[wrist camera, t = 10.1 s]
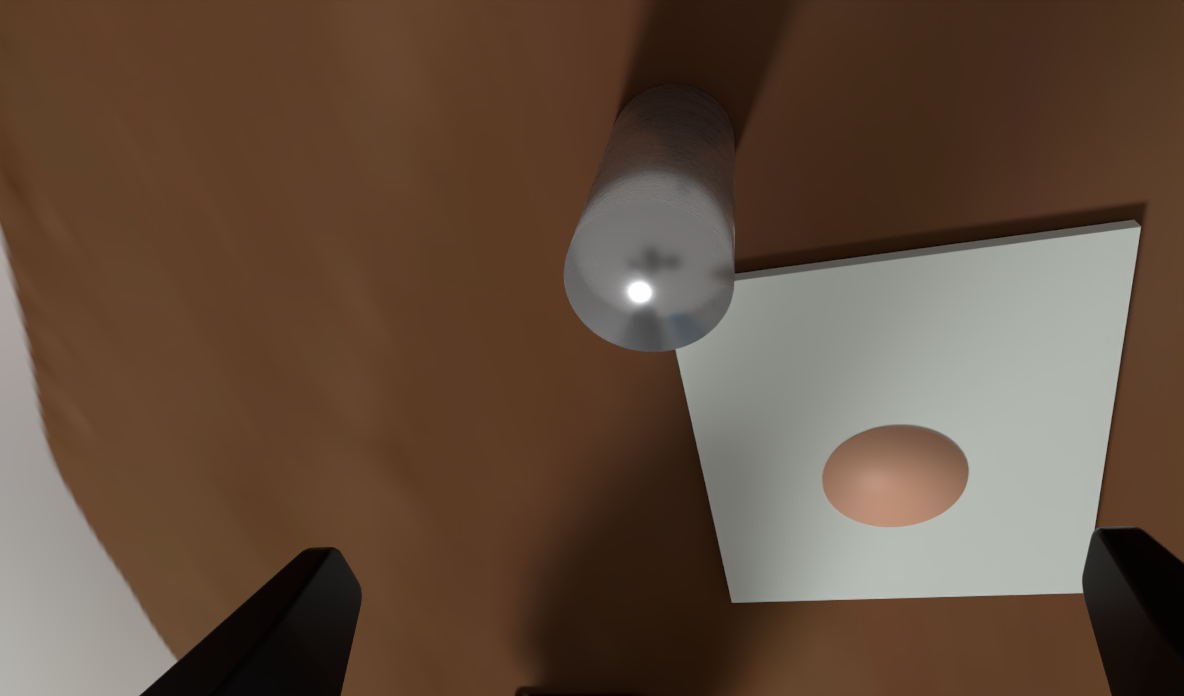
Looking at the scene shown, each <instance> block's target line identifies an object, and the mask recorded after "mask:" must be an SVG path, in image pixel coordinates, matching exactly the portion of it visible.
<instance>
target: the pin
mask: <svg viewBox="0 0 1184 696" xmlns="http://www.w3.org/2000/svg"><path fill="white" fill-rule="evenodd" d="M734 281H735V138H734V131H733V127H732V124H731V122H730V119H729V117H728V115H727V113H726V112H725V110H724V109H723V108H722V106H721V105H720V104H719V103H718V102H717V101H716V100H715V99H714V98H712V97H711V96H710V95H709V94H707V93H705V92H703V91H702V90H699V89H697V88H695V87H691V86H688V85H682V84H664V85H659V86H655V87H652V88H649V89H647V90H645V91H643V92H641V93H639V94H638V95H636V96H635V97H634V98H633V99H631V100H630V101H629V102H628V103H627V104H626V105H625V107H624V108H623V109H622V111H621V112H620V114H619V116H618V117H617V119H616V122H615V124H614V127H613V130H612V132H611V135H610V138H609V141H608V143H607V146H606V149H605V152H604V154H603V157H602V160H601V163H600V165H599V168H598V171H597V174H596V176H595V179H594V182H593V184H592V187H591V190H590V193H589V195H588V198H587V201H586V204H585V206H584V209H583V212H582V215H581V217H580V220H579V223H578V226H577V228H576V231H575V234H574V237H573V239H572V242H571V245H570V247H569V250H568V253H567V256H566V260H565V265H564V284H565V289H566V293H567V296H568V299H569V301H570V303H571V305H572V307H573V309H574V311H575V312H576V314H577V315H578V316H579V318H580V319H581V320H582V321H583V322H584V323H585V325H586V326H587V327H588V328H590V329H591V330H592V331H593V332H594V333H596V334H597V335H599V336H600V337H602V338H603V339H605V340H607V341H609V342H611V343H613V344H616V345H618V346H621V347H624V348H627V349H631V350H637V351H643V352H662V351H669V350H675V349H678V348H682V347H685V346H687V345H690V344H692V343H694V342H696V341H698V340H699V339H701V338H703V337H704V336H706V335H707V334H708V333H710V332H711V331H712V330H713V329H714V328H715V327H716V326H717V325H718V324H719V322H720V321H721V320H722V318H723V317H724V315H725V314H726V312H727V310H728V308H729V306H730V303H731V300H732V296H733V292H734Z"/></svg>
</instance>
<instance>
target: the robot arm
mask: <svg viewBox="0 0 1184 696" xmlns="http://www.w3.org/2000/svg"><path fill="white" fill-rule="evenodd" d="M1082 589H1083V594H1084V599H1085V602H1086V606H1087V609H1088V613H1089V617H1090V620H1091V624H1092V627H1093V631H1094V634H1095V638H1096V641H1097V645H1098V648H1099V652H1100V655H1101V659H1102V663H1103V666H1104V670H1105V673H1106V677H1107V680H1108V684H1109V687H1110V691H1111V694H1112V696H1184V562H1183V561H1181V560H1180V559H1179V558H1178V557H1177V556H1175V555H1174V554H1173V553H1172V552H1171V551H1169V550H1168V549H1167V548H1166V547H1164V546H1163V545H1162V544H1161V543H1160V542H1158V541H1157V540H1156V539H1155V538H1154V537H1152V536H1151V535H1150V534H1149V533H1147V532H1146V531H1144V530H1143V529H1140V528H1138V527H1133V526H1122V527H1100V528H1097V529H1096V530H1095V531H1094V532H1093V533H1092V536H1091V539H1090V544H1089V548H1088V552H1087V557H1086V561H1085V565H1084V570H1083V574H1082ZM361 600H362V593H361V587H360V584H359V582H358V580H357V578H356V577H355V575H354V573H353V572H352V570H351V568H350V567H349V565H348V563H347V562H346V560H345V558H344V557H343V555H342V554H341V552H340V551H339V550H338V549H336V548H333V547H316V548H308V549H306V550H304V551H302V552H301V553H300V554H299V555H297V556H296V557H295V558H294V559H293V560H292V561H291V562H290V563H288V564H287V565H286V566H285V567H284V568H283V569H282V570H281V571H279V572H278V573H277V574H276V575H275V576H274V577H273V578H271V579H270V580H269V581H268V582H267V583H266V584H265V585H264V586H262V587H261V588H260V589H259V590H258V591H257V592H256V593H255V594H253V595H252V596H251V597H250V598H249V599H248V600H247V601H246V602H244V603H243V604H242V605H241V606H240V607H239V608H238V609H237V610H235V611H234V612H233V613H232V614H231V615H230V616H229V617H228V618H226V619H225V620H224V621H223V622H222V623H221V624H220V625H219V626H217V627H216V628H215V629H214V630H213V631H212V632H211V633H209V634H208V635H207V636H206V637H205V638H204V639H203V640H202V641H200V642H199V643H198V644H197V645H196V646H195V647H194V648H193V649H191V650H190V651H189V652H188V653H187V654H186V655H185V656H184V657H182V658H181V659H180V660H179V661H178V662H177V663H176V664H175V665H173V666H172V667H171V668H170V669H169V670H168V671H167V672H166V673H164V675H162V676H161V677H160V678H159V679H158V680H157V681H156V682H154V683H153V684H152V685H151V686H150V687H149V688H147V689H146V691H144V692H143V693H142V694H141V695H140V696H341V691H342V687H343V682H344V678H345V673H346V669H347V664H348V660H349V655H350V651H351V647H352V642H353V638H354V633H355V629H356V624H357V620H358V615H359V611H360V606H361Z"/></svg>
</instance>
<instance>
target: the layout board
mask: <svg viewBox="0 0 1184 696" xmlns="http://www.w3.org/2000/svg"><path fill="white" fill-rule="evenodd" d="M1140 230H1141V226H1140V225H1139V224H1138V223H1137V222H1136V221H1135V220H1128V221H1121V222H1113V223H1106V224H1099V225H1091V226H1084V227H1076V228H1069V229H1062V230H1054V231H1047V232H1040V233H1032V234H1025V235H1017V236H1010V237H1003V238H995V239H988V240H981V241H973V242H966V243H958V244H951V245H944V246H936V247H929V248H922V249H914V250H907V251H899V252H892V253H885V254H877V255H870V256H862V257H855V258H848V259H840V260H833V261H826V262H818V263H811V264H803V265H796V266H789V267H781V268H774V269H767V270H759V271H752V272H744V273H737V274H735V281H734V292H733V296H732V300H731V303H730V306H729V308H728V310H727V312H726V314H725V315H724V317H723V318H722V320H721V321H720V322H719V324H718V325H717V326H716V327H715V328H714V329H713V330H712V331H711V332H710V333H708V334H707V335H706V336H704V337H703V338H701V339H699V340H698V341H696V342H694V343H692V344H690V345H687V346H685V347H682V348H678V349H675V350H676V354H677V359H678V363H679V368H680V372H681V377H682V381H683V386H684V390H685V395H686V399H687V404H688V408H689V413H690V417H691V422H692V426H693V431H694V435H695V440H696V444H697V449H698V453H699V458H700V462H701V467H702V471H703V475H704V480H705V484H706V489H707V493H708V498H709V502H710V507H711V511H712V516H713V520H714V525H715V529H716V534H717V538H718V543H719V547H720V552H721V556H722V561H723V565H724V570H725V574H726V579H727V583H728V588H729V592H730V597H731V601H732V603H740V602H776V601H811V600H847V599H883V598H918V597H954V596H990V595H1026V594H1061V593H1083V589H1082V574H1083V570H1084V565H1085V561H1086V557H1087V552H1088V548H1089V544H1090V539H1091V536H1092V533H1093V532H1094V529H1095V522H1096V516H1097V509H1098V503H1099V496H1100V490H1101V483H1102V477H1103V470H1104V464H1105V457H1106V451H1107V444H1108V438H1109V431H1110V425H1111V418H1112V412H1113V405H1114V399H1115V392H1116V386H1117V379H1118V373H1119V366H1120V360H1121V353H1122V347H1123V340H1124V334H1125V327H1126V321H1127V314H1128V308H1129V301H1130V295H1131V288H1132V282H1133V275H1134V269H1135V262H1136V256H1137V249H1138V243H1139V236H1140Z"/></svg>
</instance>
